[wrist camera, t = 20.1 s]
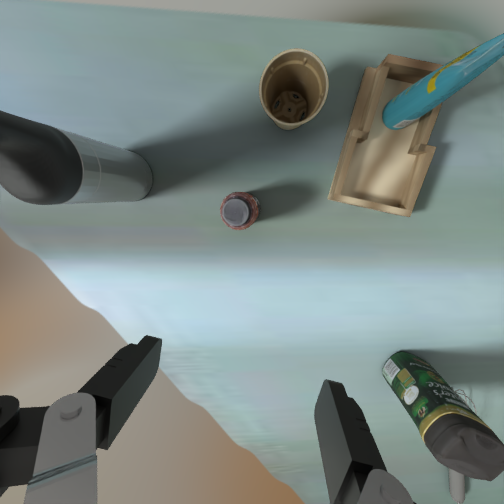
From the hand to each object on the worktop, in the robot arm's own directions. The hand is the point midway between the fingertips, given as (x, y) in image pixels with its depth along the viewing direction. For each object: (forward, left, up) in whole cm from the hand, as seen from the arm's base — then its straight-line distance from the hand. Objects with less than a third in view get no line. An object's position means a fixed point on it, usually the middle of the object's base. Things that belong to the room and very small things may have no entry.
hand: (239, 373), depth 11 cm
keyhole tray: (+16, +20, -36) cm, 44 cm away
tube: (+16, +25, -35) cm, 46 cm away
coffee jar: (+35, -20, -36) cm, 54 cm away
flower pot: (-1, +23, -36) cm, 43 cm away
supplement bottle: (-5, +5, -36) cm, 37 cm away
